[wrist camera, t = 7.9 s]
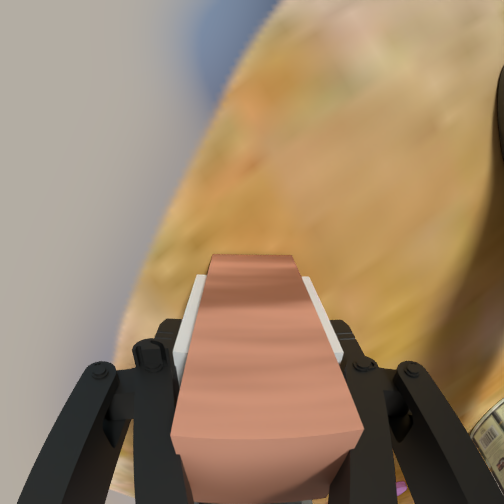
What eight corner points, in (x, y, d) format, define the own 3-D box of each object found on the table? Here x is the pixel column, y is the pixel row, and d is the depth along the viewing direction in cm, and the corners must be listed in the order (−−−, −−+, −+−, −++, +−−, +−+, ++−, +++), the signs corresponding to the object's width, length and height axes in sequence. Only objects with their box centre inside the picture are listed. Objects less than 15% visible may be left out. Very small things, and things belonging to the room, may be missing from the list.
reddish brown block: (208, 254, 17) (159, 433, 6) (296, 255, 17) (373, 426, 6) (219, 444, 23) (215, 558, 12) (273, 444, 23) (285, 556, 12)
